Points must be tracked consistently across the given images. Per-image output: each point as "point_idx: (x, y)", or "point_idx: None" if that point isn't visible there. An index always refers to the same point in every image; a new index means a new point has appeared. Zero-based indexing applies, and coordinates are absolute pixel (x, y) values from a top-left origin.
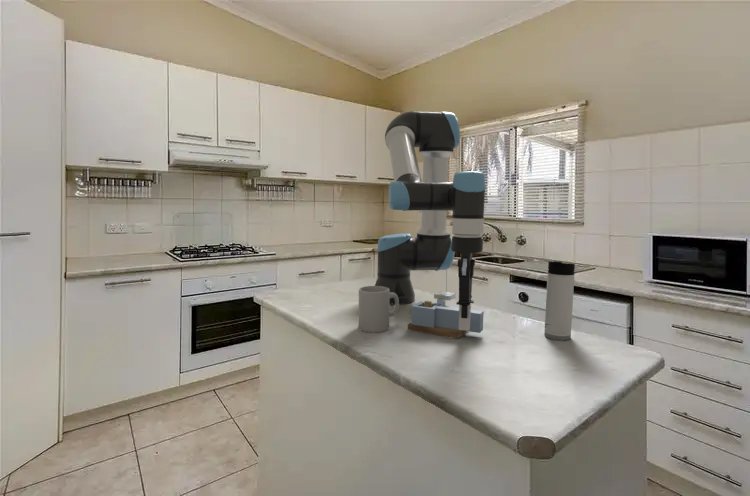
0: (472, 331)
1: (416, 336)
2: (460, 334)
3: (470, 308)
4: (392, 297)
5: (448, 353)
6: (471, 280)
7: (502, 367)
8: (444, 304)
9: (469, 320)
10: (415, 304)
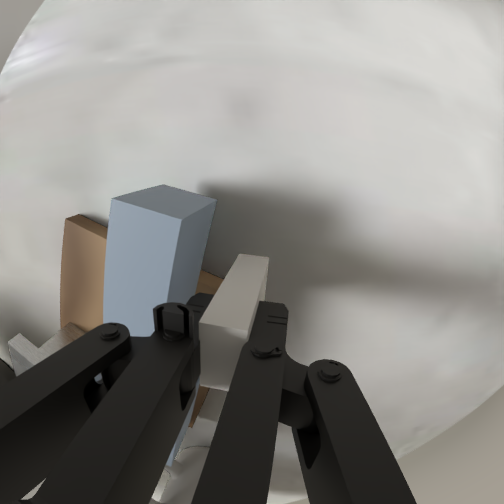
0: (208, 233)
1: None
2: (207, 275)
3: (234, 311)
4: (156, 501)
5: (410, 316)
6: (14, 421)
7: (500, 152)
8: (47, 349)
9: (262, 280)
10: None
